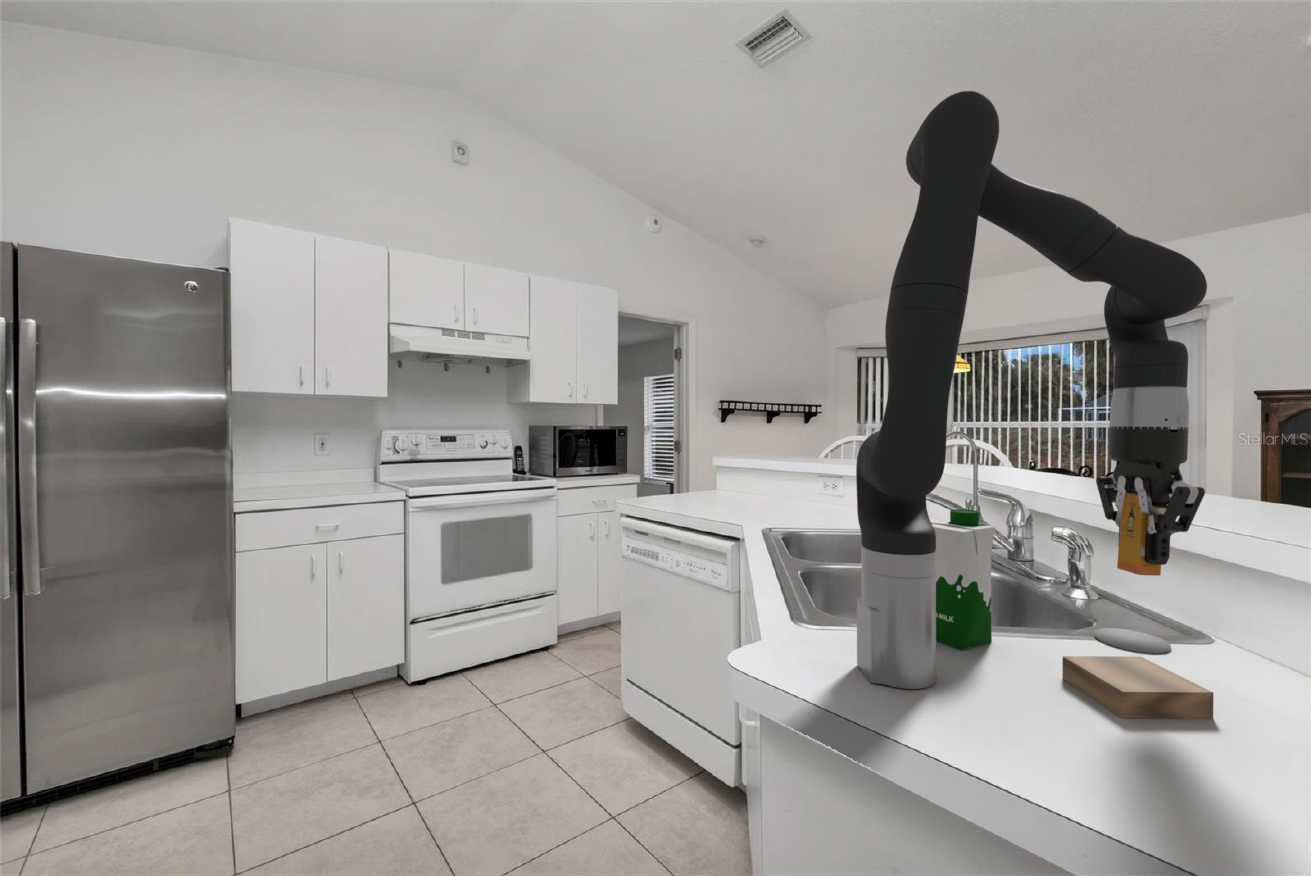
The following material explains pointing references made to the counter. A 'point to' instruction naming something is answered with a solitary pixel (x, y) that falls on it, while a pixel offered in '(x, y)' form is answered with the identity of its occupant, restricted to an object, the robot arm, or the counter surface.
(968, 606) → the milk carton
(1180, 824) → the counter surface
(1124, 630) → the grey coaster
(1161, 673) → the walnut plinth
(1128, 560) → the supplement box
